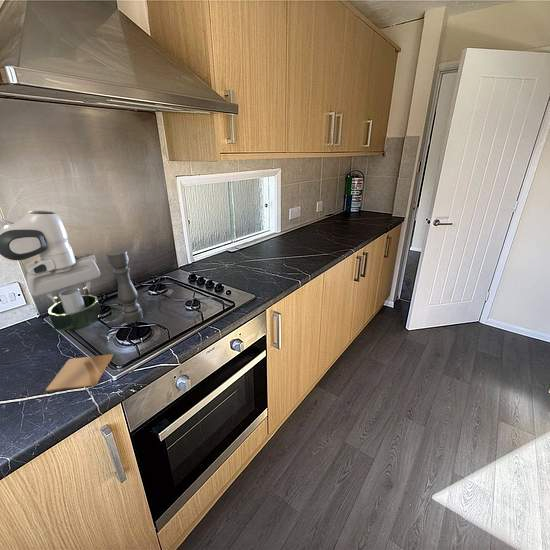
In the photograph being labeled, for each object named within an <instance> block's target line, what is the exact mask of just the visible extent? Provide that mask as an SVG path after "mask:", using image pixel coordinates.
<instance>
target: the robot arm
mask: <svg viewBox="0 0 550 550" xmlns="http://www.w3.org/2000/svg"><path fill="white" fill-rule="evenodd" d="M37 255H39V257H38V258H36V259H34V260H32V261H30V262H28V263H26V264H25V265H24V266H25V267H24V268H25V270H26V272H27V273H26V276H25V280H26V286H27V288H28V292H29V294H30V295H31V296H33V297H39V296H43V295H45V296H46V297H47V298H49V299H50V300H51V301H52V303H53V305H54V304H56V303H59V302H60V300H59V299H60V298H58V296H53V292H56V291H59V290H62V289H67V288H70V287H72V286H75V285H79V284H83V283H85V286H84V287H83V288H82V290H83V293H84V295H87V294H90V293H91V290H90V288H91V285H92V281H93V280H96V279H99V278H100V276H101V272H100V269H99V267H98V265H97V258H96V256H95V254H93V253H90V252H86V253H82V254H78V255H75V253H74V250H73V248H72V246H71V244H70V242H69V236H68V232H67V230H66V227H65V225H64V222H63V220H62V219H61V217H60V216H59V214H57V213H56V212H53V211H50V210H30V211H28V212H26V214H25V215H24V216H22V218H20V219H19V220H17V221H16V222H11V221H7V220H5V219H3V218H2V217H0V256H2V258H5V259H7V260H10V261H24V260H27V259H30V258H33V257H36V256H37Z"/></svg>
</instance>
